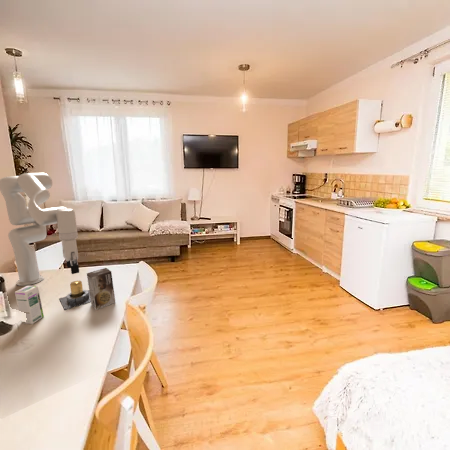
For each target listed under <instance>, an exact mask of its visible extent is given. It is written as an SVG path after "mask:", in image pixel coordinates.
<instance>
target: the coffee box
mask: <svg viewBox="0 0 450 450" xmlns="http://www.w3.org/2000/svg"><path fill="white" fill-rule="evenodd" d="M86 277H87V282H88V283H87V285H88V290H89V292H90V298H91V302H90V304H91V306H92V307H93V308H94V309H95V310H96V311H97V310H99V309H102V308H104V307H107V306H110V305H112V304H114V303H115V304H116V297H115V296H116V294H115V290H114V289H115V288H114V283H113V275H112V271H111V270H110V269H109V268H107V267H104V268H101V269H97V270H94V271H90V272H87V273H86Z"/></svg>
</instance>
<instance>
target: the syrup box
mask: <svg viewBox="0 0 450 450" xmlns="http://www.w3.org/2000/svg"><path fill="white" fill-rule="evenodd" d="M14 296H15V299H16V300H15V301H16V304H17V308H18V312H19V311H21V312H24V313H26V318H27V320H26V322H25V323H24V324H28V325H29V324H30V325H34V323H36V322H38V321H39V320H41V319H42V318H44V317H45V315H44V311H43V306H42V301H41V296H40V291H39V287H38V286H36V285H26V286H23V287H22V288H20V289H18V290H16V291H14Z"/></svg>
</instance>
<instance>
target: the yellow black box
mask: <svg viewBox="0 0 450 450" xmlns="http://www.w3.org/2000/svg"><path fill="white" fill-rule="evenodd" d="M69 286H70V293H71V295H72V297H75V298H76V297H79V296H83V290H84V288H83V283H82V281H81V280H74V281H72V282H70V285H69Z"/></svg>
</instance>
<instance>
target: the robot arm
mask: <svg viewBox="0 0 450 450" xmlns="http://www.w3.org/2000/svg"><path fill="white" fill-rule="evenodd" d="M52 186H53V179H52V178H51V176H50V175H49V174H47V173H45V172H25V173H22V174H19V175H10V176H9V175H8V176H4V177H1V178H0V193H1V195H2V197H3V198H4V201H5V205H6V212H7V216H8V220H9V223H10V224H11V225H12V226H19V227H16V228H12V229H11V230H9V232H8V235H7V236H8V240H9V242H10V245H11V247H12V250H13V255H14V259H15V264H16V271H17V275H18V279H17V280H16V283H15V284H16V285H17V286H19V287H22V286H23V287H26V286H32V285H36V284H37V283H40V282H42V281H43V280H44V276H43V275H40V270H39V264H38V259H37V254H36V253H37V252H36V249H35V248H34V247H32V246H31V245H30V244H32V243H36V242H40V241H44V240H45V239H46V238H47V227H46V226H49V225H54V224H55V225H56V224H57V232H58V239H59V241H61V249H62V257H63V259H64V260H65V261H66V266H67V269H68V268H70V272H71V273H70V274H71V275H74V274H79V273H80V267H79V262H78V259H79V253H78V252H79V251H78V247H77V245H78V243H77V239H78V238H79V233H78V227H77V226H78V225H77V220H76V211H75V210H74V209H73V208H67V207H66V206H56V207H46V208H41V207H40V206H41V205H43V204H44V203H46V202H47V201H48V200H49V199H50V196H51V193H50V191H49V189H51V188H52ZM22 193H24V194H25V195H26V196H27V197H28V199H29V200H28V204H27V201H26V198H25V196H23V195H22ZM30 224H33V225H30ZM23 225H26V226H23Z"/></svg>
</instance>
